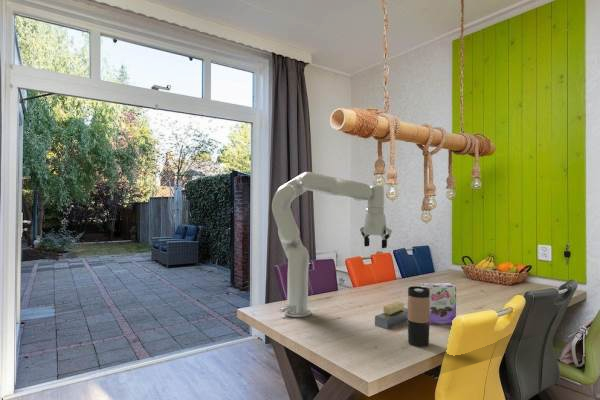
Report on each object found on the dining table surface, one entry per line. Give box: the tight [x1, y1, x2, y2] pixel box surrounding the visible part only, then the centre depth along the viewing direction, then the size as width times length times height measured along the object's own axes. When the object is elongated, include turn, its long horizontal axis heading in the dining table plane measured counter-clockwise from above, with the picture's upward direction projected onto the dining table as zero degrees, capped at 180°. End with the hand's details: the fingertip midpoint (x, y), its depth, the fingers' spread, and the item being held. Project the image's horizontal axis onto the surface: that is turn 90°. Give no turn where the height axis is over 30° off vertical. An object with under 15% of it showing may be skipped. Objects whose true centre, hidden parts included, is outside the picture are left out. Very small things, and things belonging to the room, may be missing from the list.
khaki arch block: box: [383, 301, 405, 316], centre depth 157 cm, size 11×3×6 cm, turn 135°
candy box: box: [419, 282, 457, 325], centre depth 157 cm, size 14×6×16 cm, turn 94°
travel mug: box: [407, 285, 431, 348], centre depth 133 cm, size 8×8×20 cm
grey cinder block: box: [374, 307, 408, 330], centre depth 157 cm, size 20×6×4 cm, turn 135°
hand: (375, 247), depth 173 cm, fingers open, 9 cm apart
